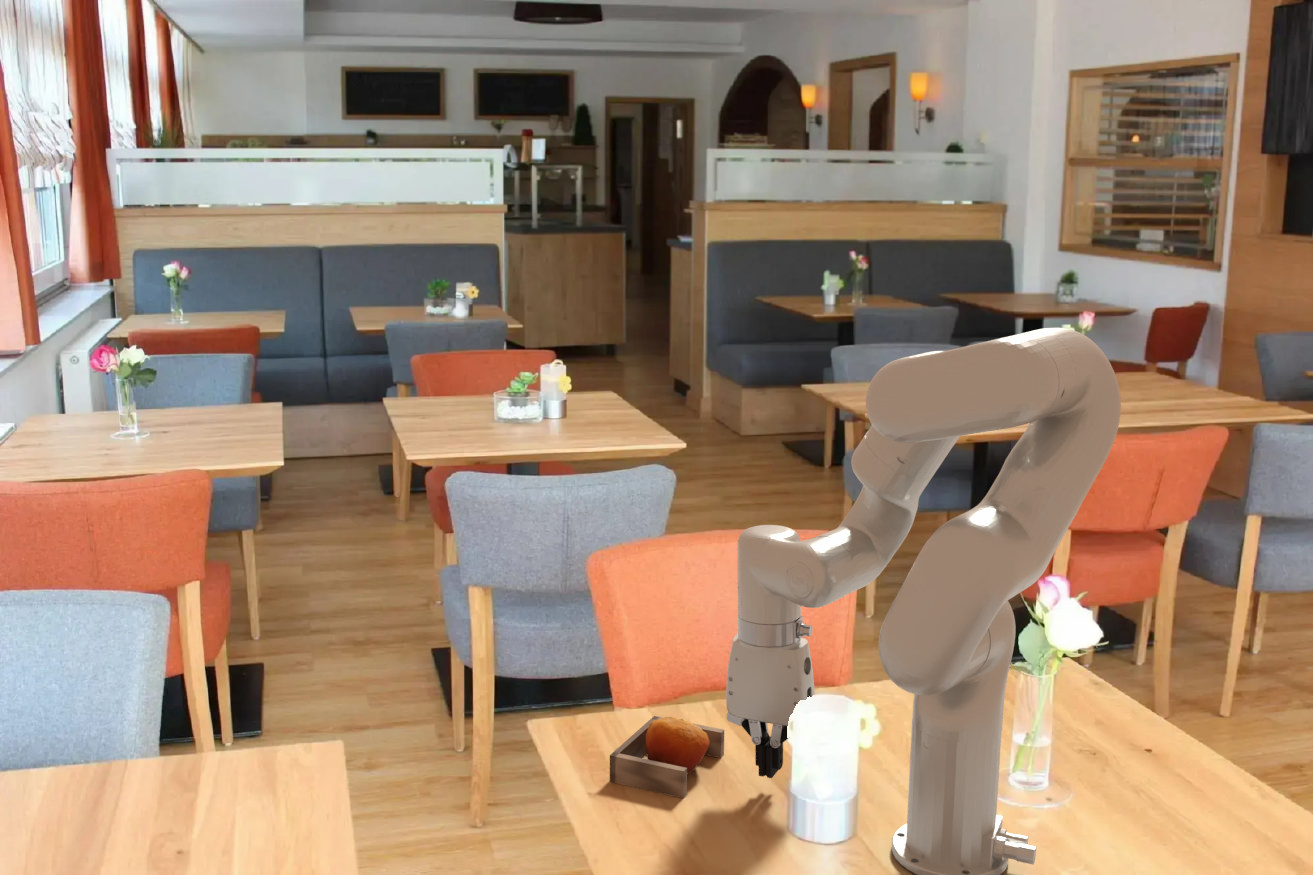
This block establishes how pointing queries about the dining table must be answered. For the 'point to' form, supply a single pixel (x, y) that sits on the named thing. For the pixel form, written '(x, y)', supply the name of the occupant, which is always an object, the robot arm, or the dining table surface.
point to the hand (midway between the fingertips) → (769, 772)
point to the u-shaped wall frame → (656, 763)
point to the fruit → (676, 742)
